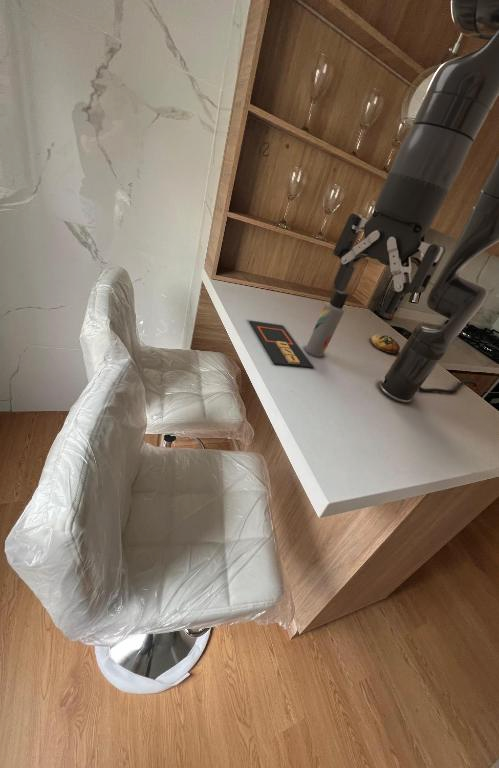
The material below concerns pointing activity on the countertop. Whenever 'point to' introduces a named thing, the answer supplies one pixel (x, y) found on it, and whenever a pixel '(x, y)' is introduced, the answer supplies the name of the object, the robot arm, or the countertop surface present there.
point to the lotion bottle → (327, 324)
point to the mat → (280, 345)
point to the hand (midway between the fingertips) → (360, 301)
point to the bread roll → (385, 343)
